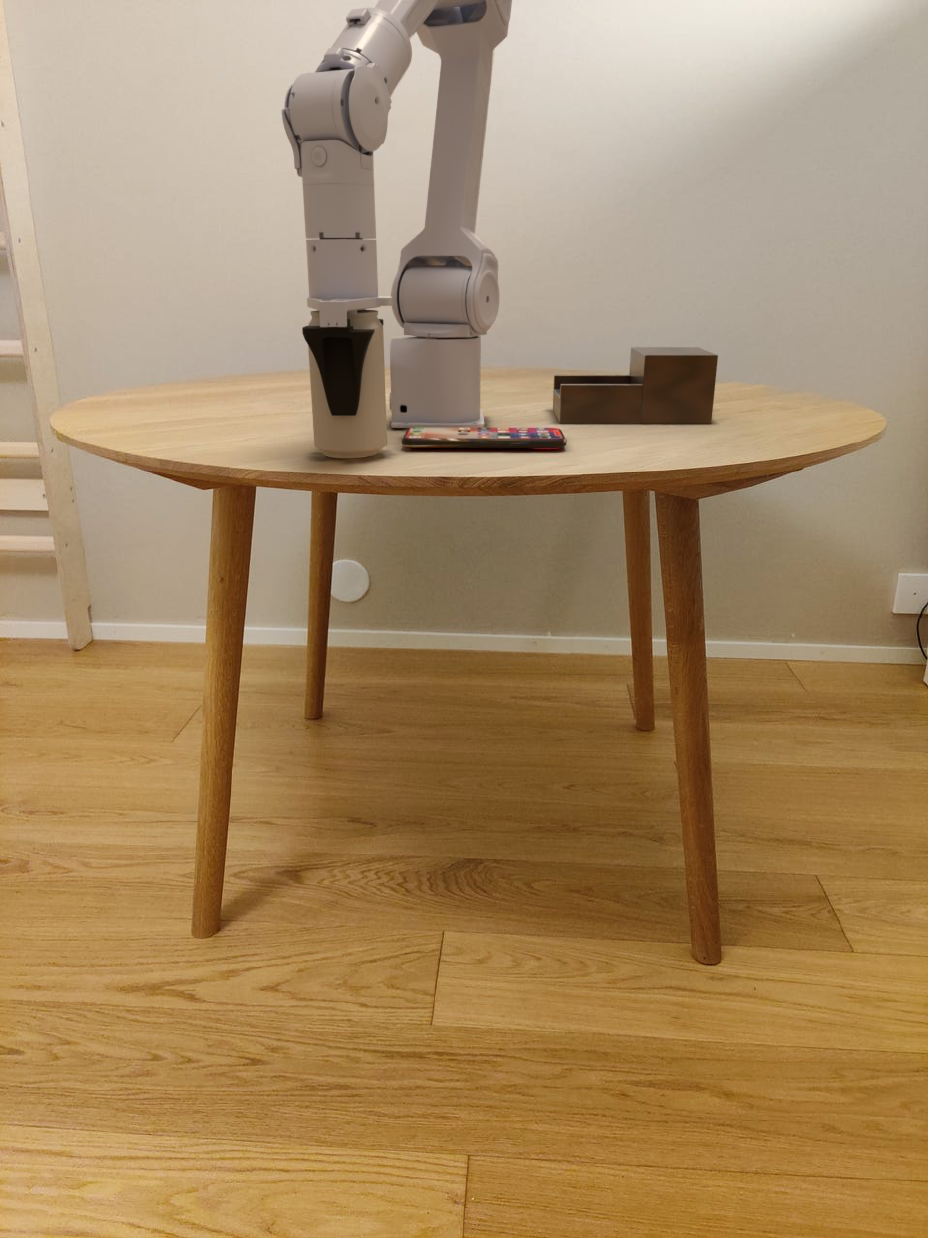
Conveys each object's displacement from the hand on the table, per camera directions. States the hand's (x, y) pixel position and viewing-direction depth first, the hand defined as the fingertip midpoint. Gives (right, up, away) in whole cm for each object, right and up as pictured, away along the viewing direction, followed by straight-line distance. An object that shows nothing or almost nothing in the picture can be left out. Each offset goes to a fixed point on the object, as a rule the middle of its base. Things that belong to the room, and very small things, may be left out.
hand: (349, 408), depth 80 cm
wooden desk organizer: (+28, +4, +21) cm, 35 cm away
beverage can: (0, -4, +2) cm, 4 cm away
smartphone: (+12, -2, +6) cm, 14 cm away
